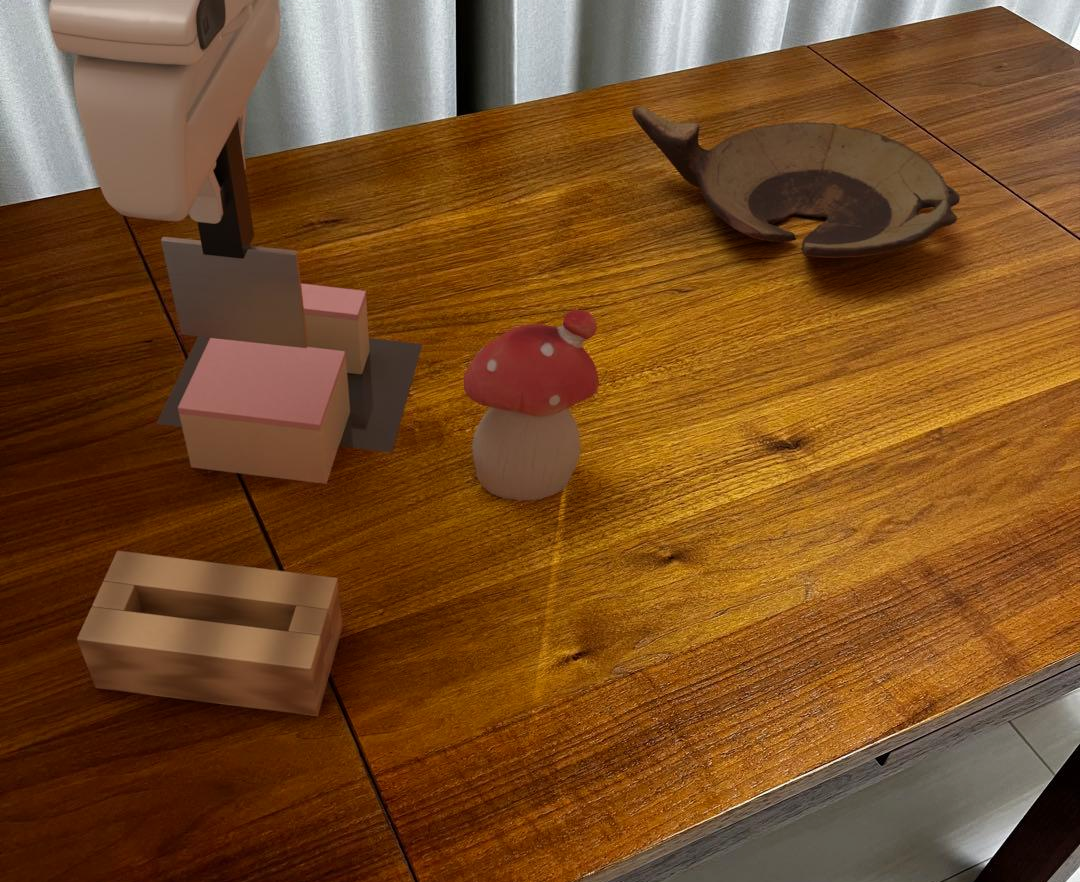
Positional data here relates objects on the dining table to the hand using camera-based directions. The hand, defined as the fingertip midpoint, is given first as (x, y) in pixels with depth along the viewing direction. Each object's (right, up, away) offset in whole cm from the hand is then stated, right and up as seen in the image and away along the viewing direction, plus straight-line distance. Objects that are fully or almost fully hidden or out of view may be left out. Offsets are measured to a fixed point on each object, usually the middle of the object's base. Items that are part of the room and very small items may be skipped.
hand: (219, 197), depth 67 cm
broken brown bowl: (+42, +12, +48) cm, 65 cm away
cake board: (-2, -9, +25) cm, 27 cm away
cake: (-2, -12, +22) cm, 25 cm away
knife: (0, -7, +8) cm, 10 cm away
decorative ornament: (+17, -15, +22) cm, 32 cm away
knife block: (-2, -27, +9) cm, 29 cm away
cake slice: (-1, -5, +29) cm, 29 cm away
